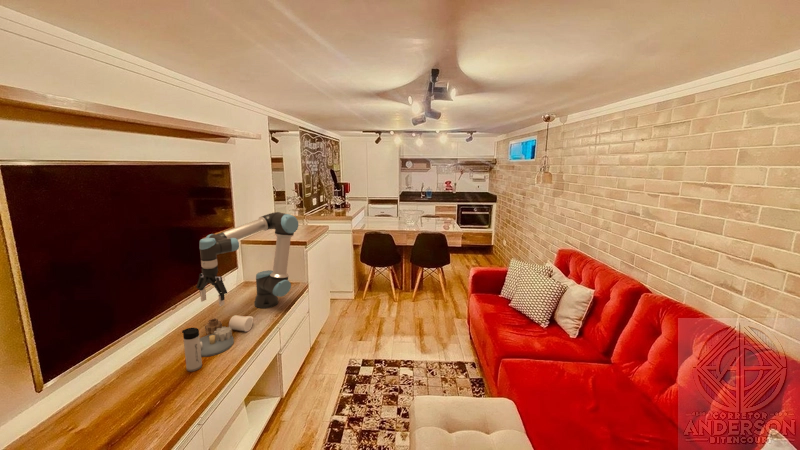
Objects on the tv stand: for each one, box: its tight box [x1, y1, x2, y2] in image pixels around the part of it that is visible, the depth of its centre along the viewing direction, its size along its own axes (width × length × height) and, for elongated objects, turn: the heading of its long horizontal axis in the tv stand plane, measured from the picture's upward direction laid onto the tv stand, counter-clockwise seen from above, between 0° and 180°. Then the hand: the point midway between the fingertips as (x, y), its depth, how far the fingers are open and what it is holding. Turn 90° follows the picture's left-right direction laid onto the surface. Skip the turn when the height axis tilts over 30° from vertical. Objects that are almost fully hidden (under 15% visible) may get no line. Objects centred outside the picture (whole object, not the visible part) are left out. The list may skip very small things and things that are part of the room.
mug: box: [228, 314, 254, 333], centre depth 190 cm, size 12×10×8 cm
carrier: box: [200, 326, 235, 358], centre depth 172 cm, size 21×20×6 cm
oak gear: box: [204, 318, 223, 335], centre depth 185 cm, size 8×8×6 cm
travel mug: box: [181, 327, 203, 372], centre depth 152 cm, size 6×7×20 cm
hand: (212, 303), depth 178 cm, fingers open, 13 cm apart
